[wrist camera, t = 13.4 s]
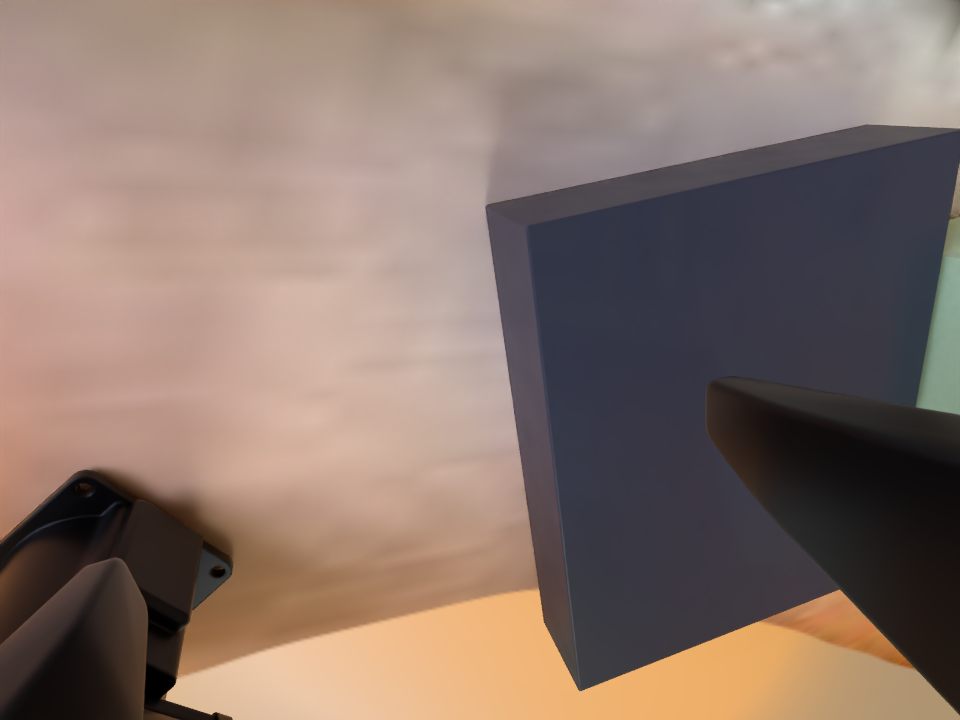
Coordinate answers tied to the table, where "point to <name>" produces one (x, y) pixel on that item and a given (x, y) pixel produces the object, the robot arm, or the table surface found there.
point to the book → (701, 366)
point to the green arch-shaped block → (944, 334)
